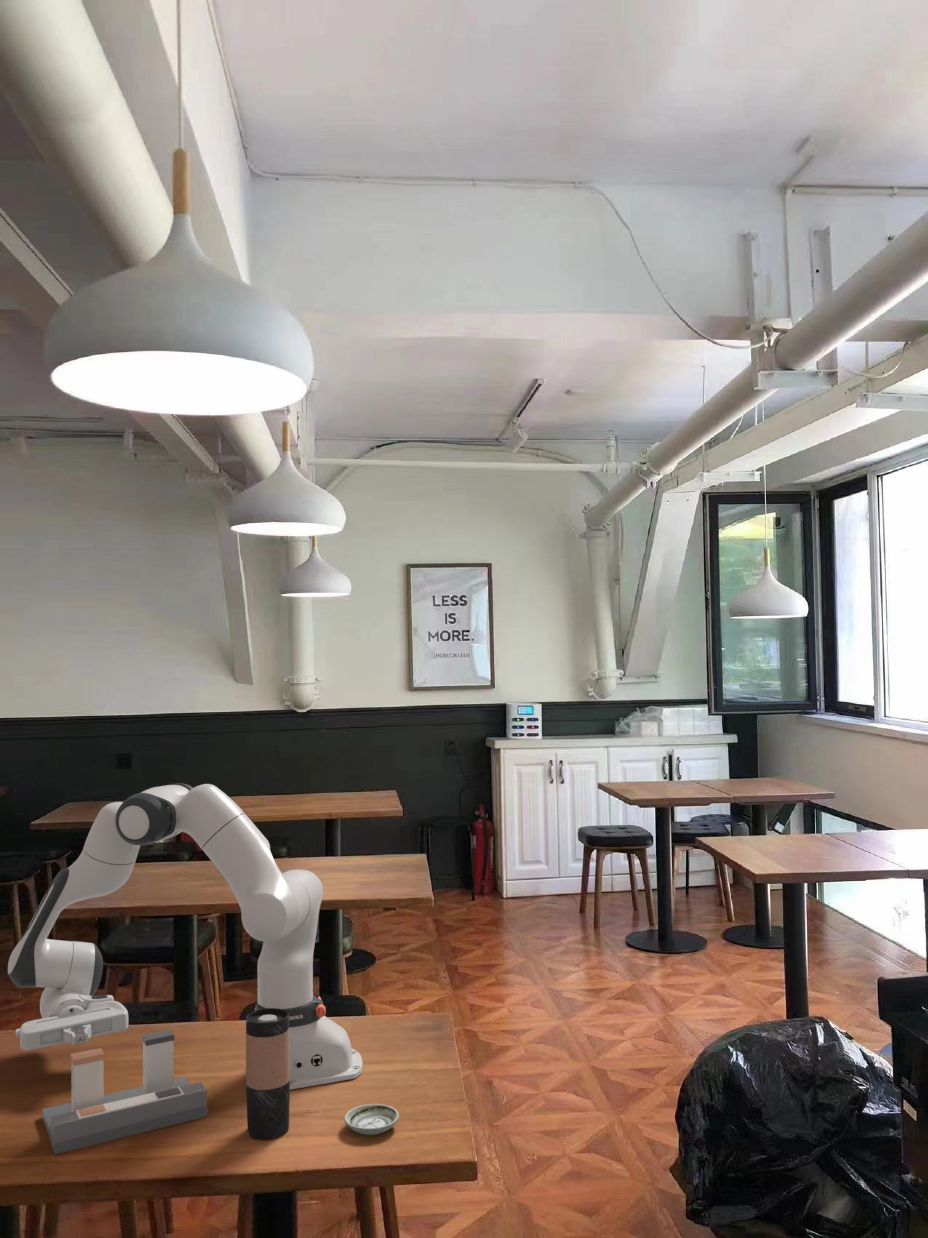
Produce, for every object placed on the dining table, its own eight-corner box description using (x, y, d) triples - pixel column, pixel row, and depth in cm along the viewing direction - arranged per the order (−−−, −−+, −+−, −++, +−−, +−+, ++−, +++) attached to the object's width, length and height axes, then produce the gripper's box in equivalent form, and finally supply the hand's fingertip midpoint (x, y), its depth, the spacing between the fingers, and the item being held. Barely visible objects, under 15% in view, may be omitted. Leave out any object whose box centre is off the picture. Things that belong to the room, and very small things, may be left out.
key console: (185, 1084, 193) (185, 1059, 193) (207, 1116, 179) (207, 1089, 180) (42, 1117, 180) (42, 1090, 180) (54, 1154, 166) (54, 1125, 167)
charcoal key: (142, 1094, 185) (142, 1035, 185) (170, 1088, 188) (170, 1029, 188) (146, 1101, 182) (146, 1040, 183) (174, 1094, 185) (174, 1034, 185)
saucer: (376, 1148, 167) (376, 1133, 167) (333, 1134, 172) (332, 1119, 172) (410, 1124, 175) (409, 1111, 175) (367, 1112, 180) (367, 1098, 181)
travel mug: (299, 1125, 175) (297, 1011, 176) (273, 1144, 168) (272, 1025, 169) (263, 1117, 179) (262, 1005, 179) (237, 1136, 172) (236, 1019, 173)
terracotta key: (70, 1116, 176) (70, 1054, 177) (101, 1109, 179) (101, 1048, 179) (73, 1123, 174) (73, 1060, 174) (104, 1116, 176) (104, 1053, 177)
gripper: (13, 1013, 197) (21, 1034, 185) (119, 993, 208) (133, 1011, 196) (14, 1045, 197) (22, 1068, 185) (120, 1023, 207) (134, 1044, 195)
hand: (80, 1039), depth 190 cm, fingers closed
